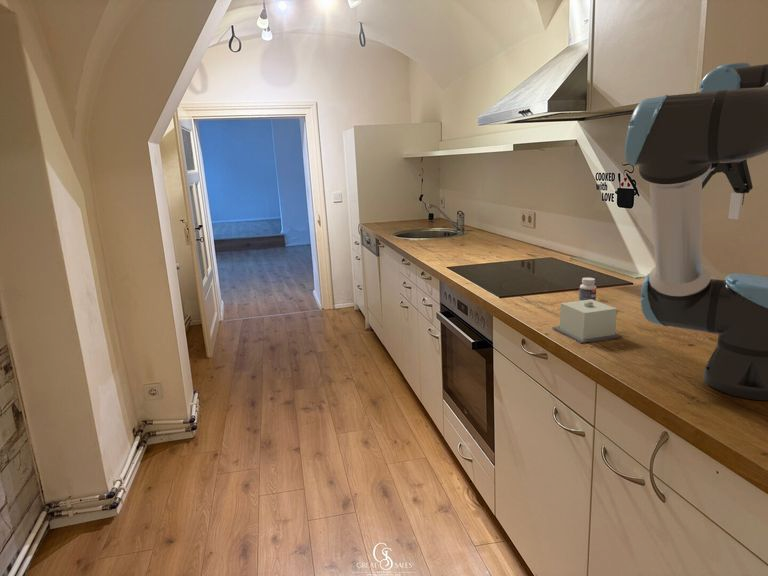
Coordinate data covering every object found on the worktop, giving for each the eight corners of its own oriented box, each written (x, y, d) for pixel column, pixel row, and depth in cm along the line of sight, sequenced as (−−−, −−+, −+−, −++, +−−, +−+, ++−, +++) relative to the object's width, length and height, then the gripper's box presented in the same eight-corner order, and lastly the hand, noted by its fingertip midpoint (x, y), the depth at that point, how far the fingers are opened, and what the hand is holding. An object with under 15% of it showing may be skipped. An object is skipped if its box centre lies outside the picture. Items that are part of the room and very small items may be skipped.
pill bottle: (592, 307, 167) (594, 281, 165) (576, 305, 170) (578, 279, 168) (597, 303, 171) (599, 278, 169) (581, 301, 174) (582, 276, 172)
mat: (621, 337, 139) (621, 335, 139) (581, 343, 135) (581, 341, 135) (590, 323, 151) (590, 321, 151) (552, 329, 148) (552, 327, 147)
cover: (615, 334, 140) (617, 305, 138) (582, 339, 137) (584, 309, 135) (589, 323, 149) (591, 295, 147) (559, 328, 146) (560, 299, 144)
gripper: (748, 133, 130) (737, 216, 135) (670, 135, 123) (661, 222, 128) (778, 131, 123) (765, 218, 128) (696, 133, 116) (686, 225, 121)
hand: (713, 220), depth 128 cm, fingers open, 13 cm apart
